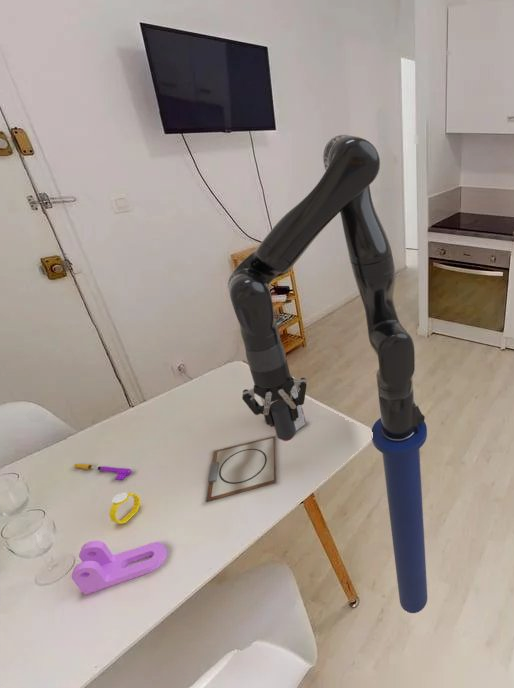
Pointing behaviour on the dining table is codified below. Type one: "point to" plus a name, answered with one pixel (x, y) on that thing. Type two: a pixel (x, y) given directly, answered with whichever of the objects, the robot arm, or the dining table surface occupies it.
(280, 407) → the dark gray cylinder
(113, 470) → the purple pen tool
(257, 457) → the clipboard
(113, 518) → the watch
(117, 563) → the bracket
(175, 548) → the dining table surface
